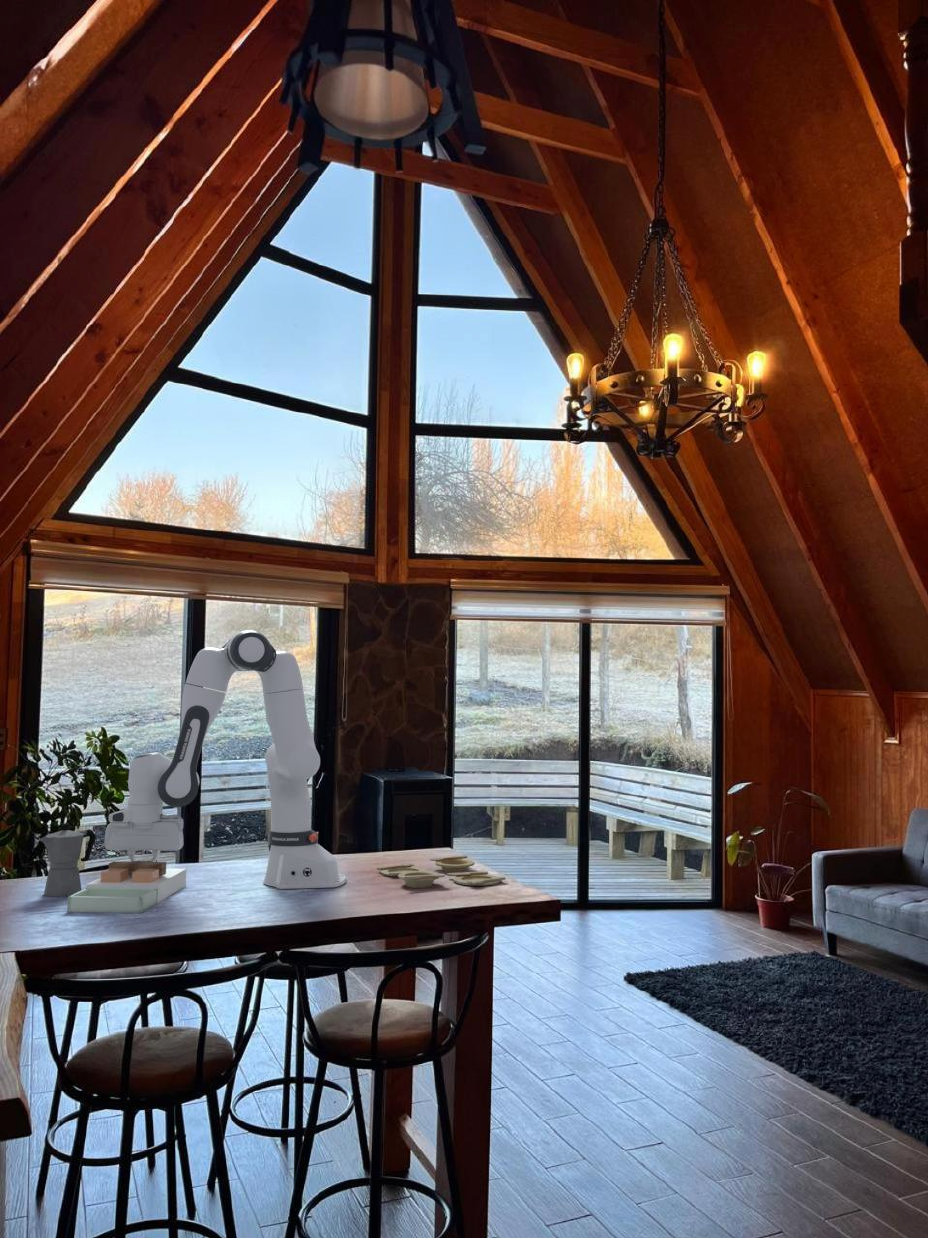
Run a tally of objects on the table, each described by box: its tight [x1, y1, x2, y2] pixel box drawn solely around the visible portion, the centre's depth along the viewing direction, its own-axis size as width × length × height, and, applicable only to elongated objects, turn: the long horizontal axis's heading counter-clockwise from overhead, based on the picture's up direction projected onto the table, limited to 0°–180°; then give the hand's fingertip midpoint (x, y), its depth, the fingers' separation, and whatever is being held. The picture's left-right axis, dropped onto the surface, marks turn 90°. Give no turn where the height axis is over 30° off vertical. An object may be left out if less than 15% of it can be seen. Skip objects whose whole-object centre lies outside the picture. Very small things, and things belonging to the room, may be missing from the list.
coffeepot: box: [39, 822, 97, 898], centre depth 242 cm, size 15×9×18 cm, turn 144°
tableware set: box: [376, 854, 507, 889], centre depth 263 cm, size 35×29×4 cm
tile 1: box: [132, 869, 159, 883], centre depth 235 cm, size 5×5×2 cm
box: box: [66, 887, 158, 914], centre depth 225 cm, size 18×10×4 cm, turn 88°
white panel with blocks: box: [85, 868, 187, 904], centre depth 241 cm, size 18×21×4 cm
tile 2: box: [100, 867, 128, 882], centre depth 235 cm, size 5×5×2 cm
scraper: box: [108, 855, 167, 876], centre depth 244 cm, size 14×11×3 cm
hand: (143, 867), depth 244 cm, fingers closed on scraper, 3 cm apart
